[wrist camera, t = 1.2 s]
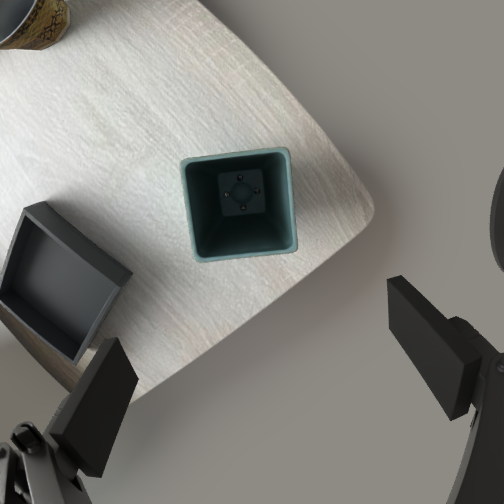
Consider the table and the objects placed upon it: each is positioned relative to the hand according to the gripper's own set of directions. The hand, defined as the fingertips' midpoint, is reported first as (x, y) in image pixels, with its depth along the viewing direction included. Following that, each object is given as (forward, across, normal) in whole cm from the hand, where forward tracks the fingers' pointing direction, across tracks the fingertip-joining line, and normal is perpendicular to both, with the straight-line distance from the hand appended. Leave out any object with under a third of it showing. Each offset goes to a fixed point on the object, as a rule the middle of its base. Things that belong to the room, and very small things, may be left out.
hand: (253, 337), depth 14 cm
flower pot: (+22, 0, -4) cm, 23 cm away
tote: (+22, +26, +1) cm, 34 cm away
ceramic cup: (+22, +20, -32) cm, 44 cm away
